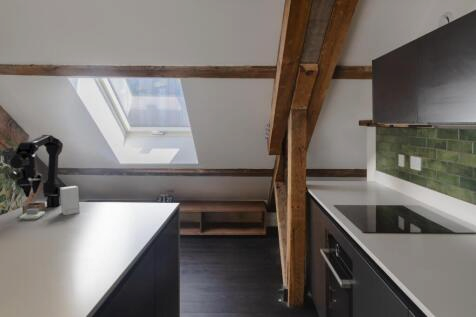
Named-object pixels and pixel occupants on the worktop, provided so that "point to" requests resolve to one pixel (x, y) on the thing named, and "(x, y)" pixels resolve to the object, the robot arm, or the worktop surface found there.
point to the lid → (32, 214)
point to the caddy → (34, 206)
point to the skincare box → (69, 200)
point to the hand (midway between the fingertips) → (31, 195)
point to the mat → (39, 217)
